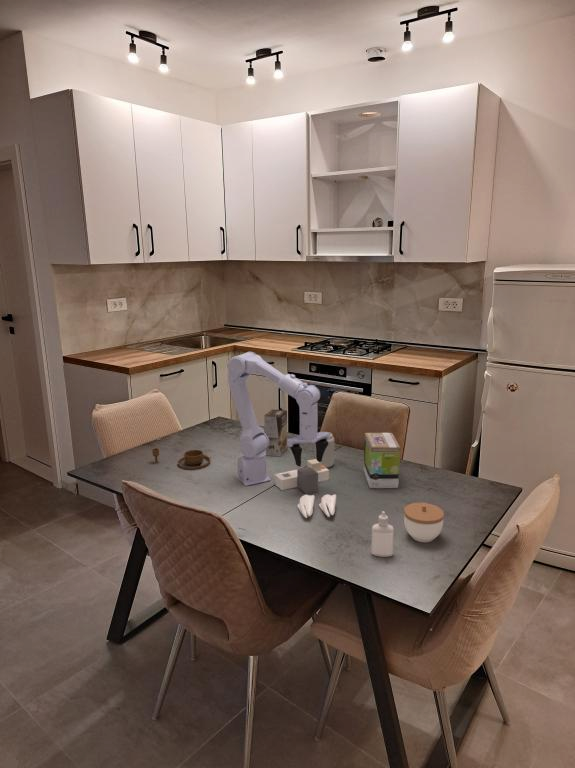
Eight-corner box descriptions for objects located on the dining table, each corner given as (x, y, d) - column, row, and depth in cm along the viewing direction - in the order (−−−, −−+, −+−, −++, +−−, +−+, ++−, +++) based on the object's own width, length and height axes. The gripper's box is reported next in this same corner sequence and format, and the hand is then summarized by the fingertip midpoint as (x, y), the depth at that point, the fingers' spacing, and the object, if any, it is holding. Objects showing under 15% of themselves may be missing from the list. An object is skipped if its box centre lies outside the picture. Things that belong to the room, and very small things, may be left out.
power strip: (281, 490, 183) (281, 478, 182) (274, 484, 188) (274, 472, 187) (328, 479, 191) (329, 468, 190) (320, 474, 196) (321, 462, 195)
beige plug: (312, 472, 188) (312, 464, 187) (307, 468, 191) (307, 460, 191) (321, 470, 190) (321, 462, 189) (316, 466, 193) (316, 458, 192)
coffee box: (280, 457, 212) (279, 417, 208) (264, 455, 214) (263, 415, 210) (287, 448, 220) (287, 410, 216) (272, 447, 222) (271, 408, 218)
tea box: (399, 488, 184) (401, 446, 180) (369, 489, 184) (370, 447, 180) (390, 470, 198) (392, 431, 194) (362, 470, 198) (363, 431, 194)
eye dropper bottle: (387, 560, 142) (389, 518, 139) (368, 553, 145) (369, 512, 142) (395, 553, 145) (397, 511, 142) (376, 546, 149) (377, 505, 146)
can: (334, 469, 200) (335, 437, 197) (313, 469, 200) (313, 437, 197) (333, 461, 207) (333, 430, 204) (313, 461, 207) (313, 430, 204)
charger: (305, 494, 180) (305, 475, 179) (293, 484, 188) (293, 466, 186) (317, 491, 182) (318, 473, 180) (305, 481, 190) (305, 463, 188)
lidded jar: (420, 523, 161) (421, 493, 158) (450, 538, 152) (452, 507, 150) (394, 535, 155) (395, 504, 152) (425, 551, 146) (426, 519, 144)
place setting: (188, 477, 196) (187, 461, 195) (150, 465, 207) (148, 450, 206) (221, 461, 210) (220, 446, 208) (183, 450, 221) (182, 436, 220)
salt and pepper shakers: (297, 504, 174) (294, 522, 163) (297, 492, 173) (293, 509, 162) (336, 506, 172) (334, 524, 162) (336, 494, 171) (335, 511, 161)
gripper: (293, 430, 171) (294, 471, 174) (334, 423, 177) (334, 463, 180) (284, 424, 177) (284, 464, 180) (323, 417, 183) (323, 456, 186)
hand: (308, 463), depth 181 cm, fingers open, 7 cm apart
